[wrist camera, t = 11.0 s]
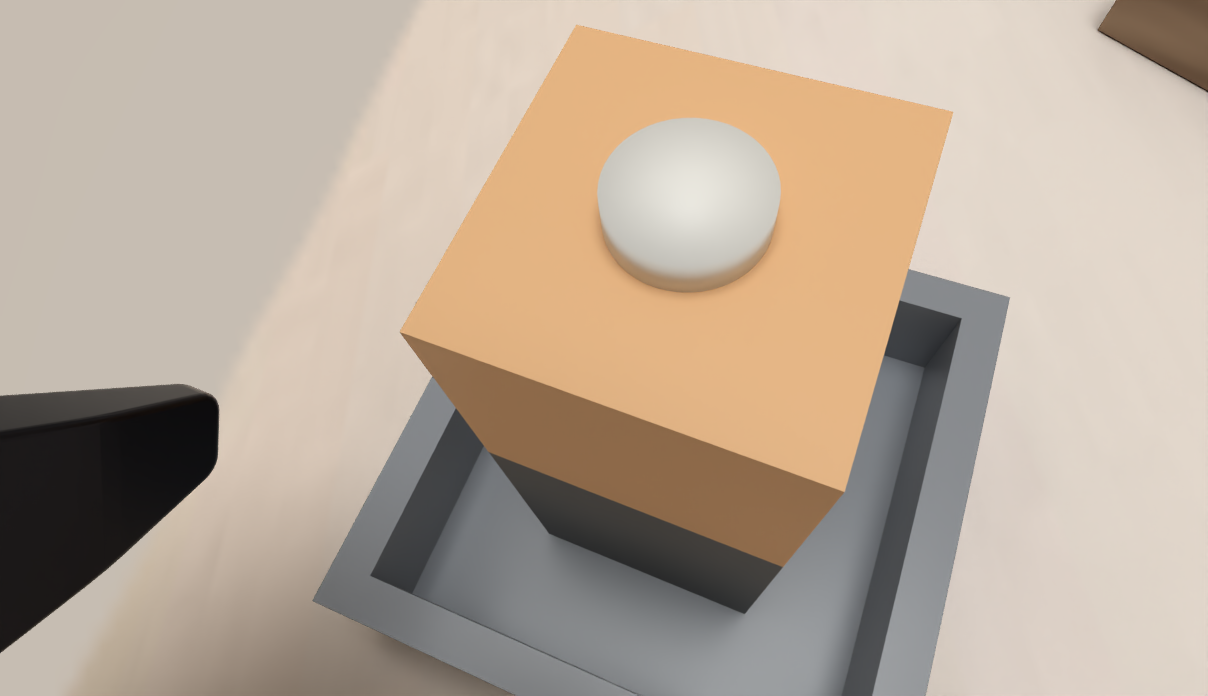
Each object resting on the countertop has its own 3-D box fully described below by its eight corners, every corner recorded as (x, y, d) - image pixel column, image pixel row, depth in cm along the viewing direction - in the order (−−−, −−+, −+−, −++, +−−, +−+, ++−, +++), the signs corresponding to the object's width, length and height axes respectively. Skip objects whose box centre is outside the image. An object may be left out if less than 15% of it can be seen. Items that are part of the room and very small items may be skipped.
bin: (842, 832, 14) (889, 869, 11) (379, 619, 17) (312, 601, 14) (952, 366, 18) (1010, 297, 15) (563, 248, 21) (543, 167, 18)
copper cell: (745, 614, 15) (857, 477, 6) (549, 533, 16) (382, 308, 7) (805, 422, 17) (969, 77, 8) (624, 360, 18) (571, -11, 9)
